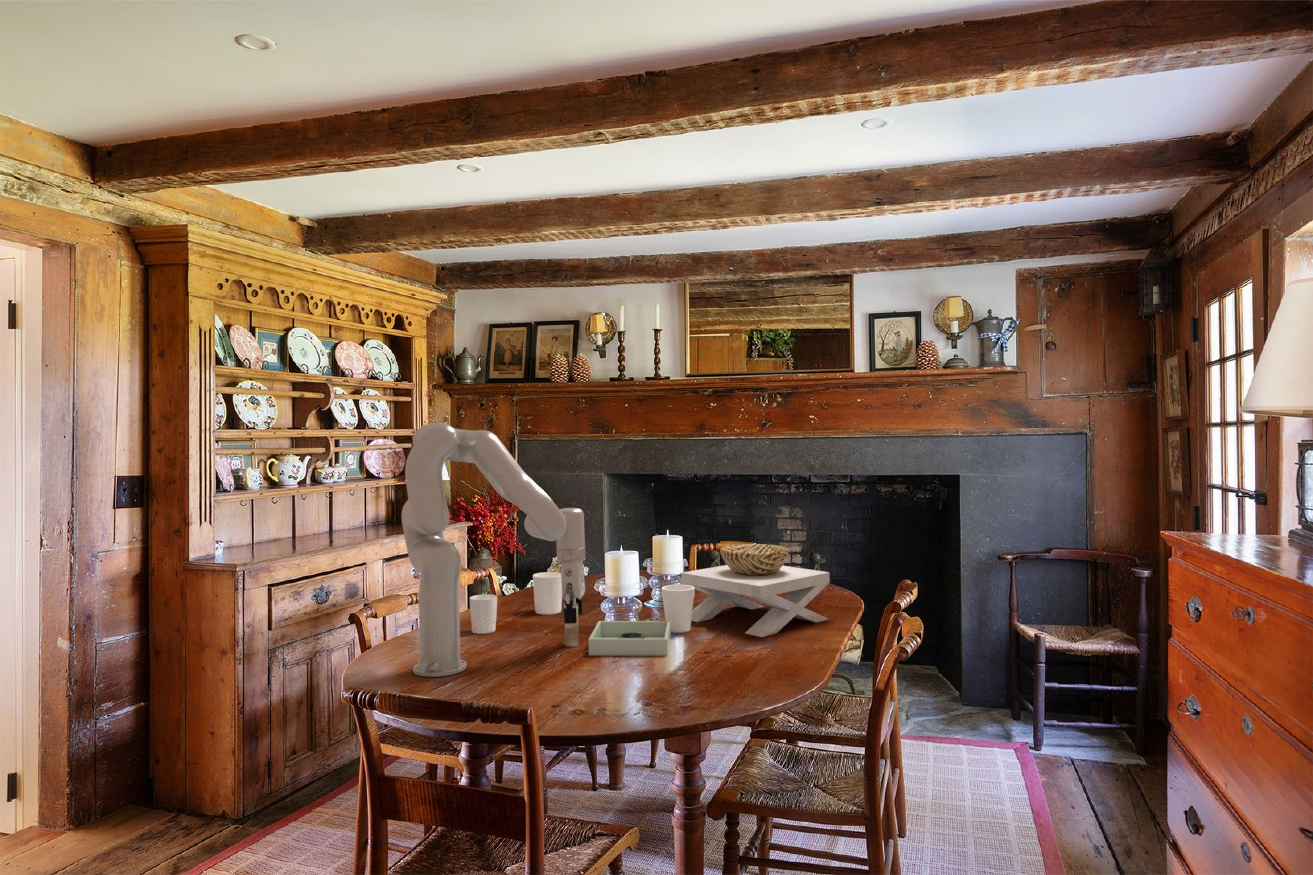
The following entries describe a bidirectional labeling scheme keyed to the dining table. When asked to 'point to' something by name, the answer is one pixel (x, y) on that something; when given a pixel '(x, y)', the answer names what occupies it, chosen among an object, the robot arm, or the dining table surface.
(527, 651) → the dining table surface
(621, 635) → the wick clip
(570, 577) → the robot arm
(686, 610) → the foam cup
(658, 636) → the pale green rectangular tray
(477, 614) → the white cup
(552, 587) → the candle holder
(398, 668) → the dining table surface
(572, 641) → the wick peg
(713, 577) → the grey stool with basket
